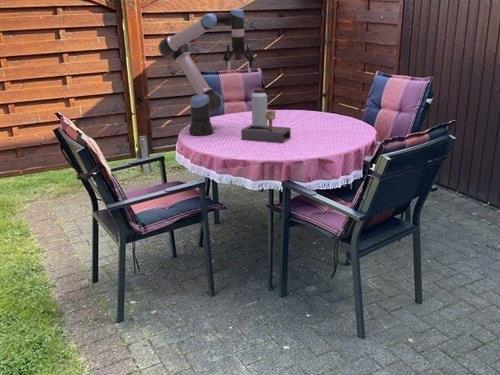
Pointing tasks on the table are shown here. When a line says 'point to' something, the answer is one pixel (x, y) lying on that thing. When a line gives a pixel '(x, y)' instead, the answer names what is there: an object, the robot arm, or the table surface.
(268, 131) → the keyhole plate
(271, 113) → the peg
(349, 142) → the table surface
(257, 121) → the water bottle
